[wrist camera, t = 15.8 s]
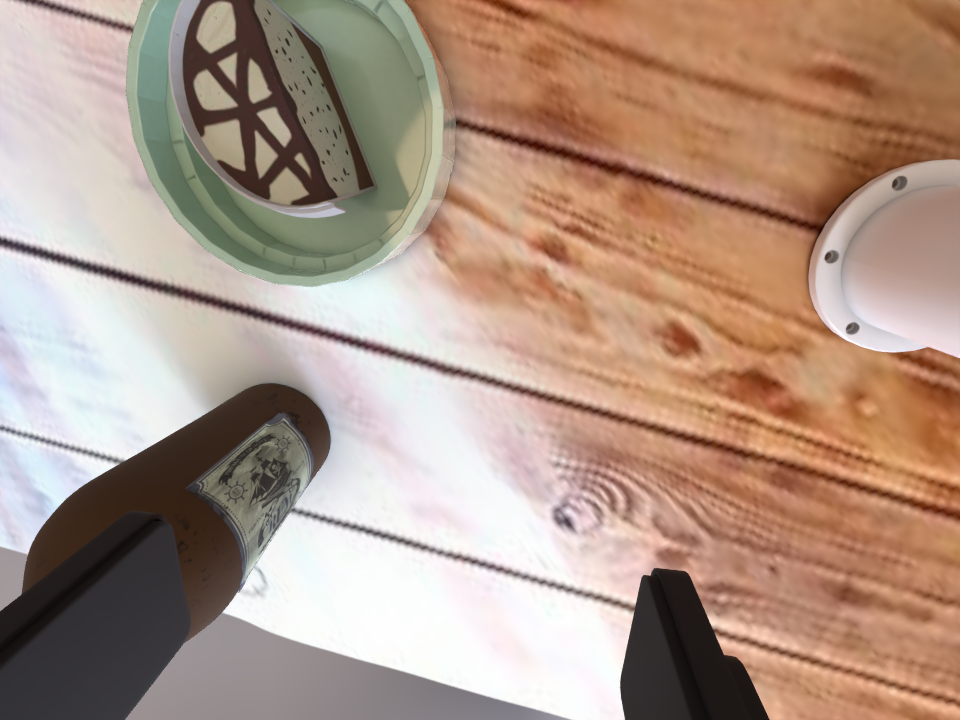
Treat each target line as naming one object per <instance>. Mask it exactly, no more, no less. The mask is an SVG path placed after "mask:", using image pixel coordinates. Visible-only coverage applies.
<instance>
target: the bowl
mask: <svg viewBox="0 0 960 720" xmlns="http://www.w3.org/2000/svg"><path fill="white" fill-rule="evenodd" d="M274 1H275V2H276V3H277V4H278V5H279V6H280V7H281V8H282V9H283V10H284V11H285V12H287V13H288V14H289V15H290V16H291V17H292V18H293V19H294V20H295V21H296V22H297V23H298V24H299V25H301V26H302V27H303V28H304V29H305V30H306V31H307V32H308V33H309V34H310V35H311V36H312V37H314V38H315V39H316V40H317V41H318V42H319V43H320V44H321V45H322V46H323V49H324V51H325V54H326V56H327V59H328V61H329V64H330V66H331V69H332V72H333V74H334V77H335V79H336V82H337V84H338V87H339V89H340V92H341V95H342V97H343V100H344V102H345V105H346V107H347V110H348V112H349V115H350V117H351V120H352V123H353V125H354V128H355V130H356V133H357V135H358V138H359V140H360V143H361V145H362V148H363V151H364V153H365V156H366V158H367V161H368V163H369V166H370V168H371V171H372V174H373V176H374V179H375V181H376V184H377V186H378V189H375V190H371V191H368V192H365V193H362V194H359V195H356V196H353V197H350V198H347V199H344V200H341V201H338V202H335V205H337V206H339V207H342V208H344V209H346V212H344V213H341V214H338V215H334V216H329V217H321V218H305V217H296V216H291V215H287V214H282V213H280V212H277V211H274V210H272V209H269V208H267V207H264V206H262V205H259V204H257V203H254V202H252V201H251V200H249V199H247V198H245V197H244V196H242V195H240V194H239V193H237V192H236V191H235V190H233V189H232V188H231V187H230V186H228V185H227V184H226V183H225V182H223V181H222V180H221V178H219V176H218V175H217V174H216V173H215V172H214V171H213V170H212V169H211V168H210V167H209V166H208V165H207V164H206V163H205V162H204V160H203V159H202V157H201V156H200V155H199V153H198V152H197V151H196V149H195V148H194V146H193V145H192V143H191V141H190V139H189V138H188V136H187V134H186V132H185V130H184V128H183V125H182V123H181V121H180V118H179V116H178V113H177V110H176V107H175V103H174V100H173V96H172V92H171V85H170V78H169V66H168V50H169V42H170V34H171V29H172V25H173V21H174V18H175V14H176V11H177V9H178V7H179V4H180V2H181V0H143V2H142V4H141V7H140V11H139V14H138V17H137V20H136V24H135V27H134V30H133V33H132V36H131V40H130V43H129V47H128V62H127V80H126V93H127V94H126V96H127V102H128V108H129V114H130V120H131V126H132V132H133V138H134V139H135V140H134V142H135V144H136V147H137V149H138V152H139V154H140V157H141V159H142V162H143V164H144V167H145V169H146V172H147V174H148V177H149V179H150V182H152V185H153V187H154V188H155V190H156V191H157V193H158V194H159V196H160V197H161V199H162V200H163V202H164V203H165V205H166V206H167V208H168V209H169V211H170V212H171V214H172V215H173V217H174V219H176V221H177V222H178V223H179V224H180V225H181V226H182V227H183V228H184V229H185V230H186V231H187V232H188V233H189V234H190V235H191V236H192V237H193V238H194V239H195V240H196V241H197V242H198V243H199V244H200V245H201V246H202V247H203V248H204V249H206V250H207V251H208V252H210V253H211V254H213V255H214V256H216V257H218V258H219V259H221V260H222V261H224V262H226V263H227V264H229V265H230V266H232V267H233V268H235V269H237V270H238V271H240V272H242V273H245V274H248V275H251V276H254V277H257V278H260V279H263V280H266V281H269V282H272V283H275V284H282V285H295V286H309V287H313V286H320V285H325V284H330V283H335V282H340V281H345V280H349V279H352V278H354V277H356V276H358V275H360V274H363V273H365V272H367V271H369V270H372V269H374V268H375V267H377V266H379V265H381V264H383V263H385V262H387V261H389V260H391V259H392V258H394V257H396V256H398V255H400V254H401V253H402V252H403V251H405V250H406V249H407V248H408V247H409V246H410V245H411V244H412V243H413V242H414V241H415V240H416V239H417V238H418V237H419V236H420V235H421V234H422V233H423V232H424V231H425V230H426V229H427V227H428V225H429V223H430V222H431V220H432V218H433V217H434V215H435V213H436V211H437V210H438V208H439V206H440V205H441V203H442V201H443V198H444V197H445V193H446V190H447V186H448V183H449V179H450V176H451V172H452V168H453V165H454V160H455V130H456V121H455V120H456V118H455V113H454V109H453V104H452V99H451V94H450V89H449V84H448V79H447V76H446V74H445V72H444V70H443V68H442V65H441V63H440V61H439V59H438V57H437V55H436V53H435V50H434V48H433V46H432V44H431V42H430V40H429V38H428V36H427V34H426V33H425V31H424V30H423V28H422V26H421V25H420V23H419V21H418V20H417V18H416V17H415V15H414V13H413V12H412V10H411V8H410V7H409V6H408V5H407V3H406V2H405V1H404V0H274Z"/></svg>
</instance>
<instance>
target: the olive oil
mask: <svg viewBox="0 0 960 720" xmlns="http://www.w3.org/2000/svg"><path fill="white" fill-rule="evenodd" d="M329 449H330V431H329V427H328V424H327V422H326V420H325V418H324V416H323V414H322V413H321V411H320V410H319V408H318V407H317V406H316V405H315V404H314V403H313V402H312V401H311V400H310V399H309V398H308V397H306V396H305V395H303V394H302V393H300V392H298V391H297V390H295V389H292V388H290V387H287V386H283V385H278V384H260V385H256V386H253V387H250V388H248V389H246V390H244V391H242V392H241V393H239V394H237V395H236V396H234V397H233V398H231V399H229V400H228V401H226V402H224V403H223V404H221V405H220V406H218V407H216V408H215V409H213V410H212V411H210V412H208V413H207V414H205V415H203V416H202V417H200V418H198V419H197V420H195V421H193V422H192V423H190V424H188V425H186V426H185V427H183V428H181V429H180V430H178V431H176V432H174V433H173V434H171V435H169V436H168V437H166V438H164V439H163V440H161V441H159V442H157V443H156V444H154V445H152V446H151V447H149V448H147V449H145V450H144V451H142V452H140V453H138V454H137V455H135V456H133V457H131V458H130V459H128V460H126V461H124V462H123V463H121V464H119V465H117V466H116V467H114V468H112V469H110V470H109V471H107V472H105V473H103V474H102V475H100V476H98V477H96V478H95V479H93V480H91V481H90V482H88V483H87V484H85V485H83V486H82V487H81V488H79V489H78V490H77V491H75V492H74V493H73V494H72V495H70V496H69V497H68V498H67V499H66V500H65V501H64V502H63V503H62V504H61V505H60V506H59V507H58V508H57V509H56V511H55V512H54V513H53V514H52V515H51V516H50V518H49V519H48V520H47V521H46V523H45V524H44V525H43V526H42V528H41V529H40V531H39V532H38V534H37V535H36V537H35V539H34V541H33V543H32V545H31V548H30V551H29V554H28V557H27V561H26V566H25V572H24V580H23V588H22V594H23V593H24V592H26V591H27V590H28V589H29V588H31V587H32V586H33V585H35V584H36V583H37V582H38V581H40V580H41V579H42V578H44V577H45V576H46V575H47V574H49V573H50V572H51V571H52V570H54V569H55V568H56V567H58V566H59V565H60V564H61V563H63V562H64V561H65V560H66V559H68V558H69V557H70V556H72V555H73V554H74V553H75V552H77V551H78V550H79V549H81V548H82V547H83V546H84V545H86V544H87V543H88V542H89V541H91V540H92V539H93V538H95V537H96V536H97V535H98V534H100V533H101V532H102V531H104V530H105V529H106V528H107V527H109V526H110V525H111V524H112V523H114V522H115V521H116V520H118V519H119V518H120V517H121V516H123V515H124V514H126V513H128V512H130V511H142V512H151V513H160V514H163V515H164V516H165V517H166V519H167V521H168V522H169V523H171V524H172V527H173V530H174V536H175V541H176V546H177V551H178V556H179V562H180V567H181V572H182V577H183V582H184V587H185V593H186V598H187V603H188V608H189V613H190V618H191V628H190V632H189V635H188V637H187V639H186V641H188V640H189V639H191V638H192V637H194V636H195V635H196V634H198V633H199V632H200V631H202V629H204V628H205V627H207V626H208V625H209V624H210V623H211V622H212V621H214V620H215V619H216V618H217V617H218V616H219V615H220V614H221V613H222V612H223V611H224V610H225V608H226V607H227V606H228V605H229V603H230V602H231V601H232V599H233V598H234V596H235V595H236V593H237V592H238V590H239V592H240V590H241V589H242V587H243V586H244V584H245V582H246V579H247V577H248V575H249V574H250V572H251V571H252V569H253V568H254V566H255V565H256V563H257V561H258V560H259V558H260V557H261V555H262V554H263V552H264V551H265V549H266V548H267V546H268V545H269V543H270V541H271V540H272V538H273V537H274V535H275V534H276V532H277V531H278V529H279V528H280V526H281V525H282V523H283V522H284V520H285V519H286V517H287V516H288V514H289V513H290V511H291V510H292V508H293V507H294V505H295V504H296V502H297V501H298V499H299V498H300V496H301V495H302V493H303V492H304V490H305V489H306V488H307V486H308V485H309V483H310V482H311V480H312V479H313V478H314V476H315V475H316V473H317V472H318V471H319V469H320V468H321V466H322V465H323V463H324V462H325V460H326V458H327V455H328V453H329ZM239 592H238V593H239ZM186 641H185V642H186ZM185 642H184V643H185Z"/></svg>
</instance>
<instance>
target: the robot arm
mask: <svg viewBox="0 0 960 720" xmlns="http://www.w3.org/2000/svg"><path fill="white" fill-rule="evenodd" d="M892 182H893V184H892ZM826 253H827V256H826V258H825V255H826ZM808 279H809V292H810V296H811V299H812V302H813V305H814V308H815V310H816V312H817V313H818V315H819V317H820V318H821V320H822V321H823V322H824V323H825V324H826V325H827V326H828V327H829V328H830V330H831V331H832V332H834V333H835V334H837V335H839V336H840V337H842V338H843V339H845V340H847V341H849V342H851V343H854V344H856V345H858V346H860V347H864V348H868V349H871V350H875V351H884V352H904V351H914V350H918V349H922V348H926V347H930V348H933V349H936V350H939V351H941V352H944V353H947V354H950V355H952V356H955V357H958V358H960V160H955V159H951V160H932V161H925V162H918V163H911V164H908V165H905V166H902V167H899V168H896V169H893V170H890V171H888V172H886V173H884V174H882V175H880V176H878V177H876V178H874V179H872V180H871V181H869V182H868V183H866V184H865V185H864V186H862V187H861V188H859V189H858V190H857V191H855V192H854V193H853V194H852V195H851V196H850V197H849V198H848V199H846V200H845V201H844V202H843V203H842V204H841V205H840V206H839V207H838V208H837V210H836V211H835V212H834V214H833V215H832V216H831V218H830V219H829V220H828V221H827V223H826V224H825V226H824V228H823V230H822V232H821V234H820V235H819V237H818V239H817V241H816V244H815V247H814V250H813V253H812V256H811V259H810V267H809V275H808ZM190 628H191V618H190V613H189V608H188V603H187V598H186V593H185V587H184V582H183V577H182V572H181V567H180V562H179V556H178V551H177V546H176V541H175V536H174V530H173V527H172V524H171V523H169V522H168V521H167V519H166V517H165V516H164V515H163V514H160V513H151V512H142V511H130V512H128V513H126V514H124V515H123V516H121V517H120V518H119V519H118V520H116V521H115V522H114V523H112V524H111V525H110V526H109V527H107V528H106V529H105V530H104V531H102V532H101V533H100V534H98V535H97V536H96V537H95V538H93V539H92V540H91V541H89V542H88V543H87V544H86V545H84V546H83V547H82V548H81V549H79V550H78V551H77V552H75V553H74V554H73V555H72V556H70V557H69V558H68V559H66V560H65V561H64V562H63V563H61V564H60V565H59V566H58V567H56V568H55V569H54V570H52V571H51V572H50V573H49V574H47V575H46V576H45V577H44V578H42V579H41V580H40V581H38V582H37V583H36V584H35V585H33V586H32V587H31V588H29V589H28V590H27V591H26V592H24V593H23V594H22V595H21V596H19V597H18V598H17V599H15V600H14V601H13V602H12V603H10V604H9V605H8V606H6V607H5V608H4V609H3V610H1V611H0V720H125V719H126V718H127V716H128V715H129V714H130V713H131V711H132V710H133V708H134V707H135V706H136V705H137V703H138V702H139V701H140V700H141V698H142V697H143V696H144V694H145V693H146V692H147V690H148V689H149V688H150V687H151V685H152V684H153V683H154V681H155V680H156V679H157V678H158V676H159V675H160V674H161V672H162V671H163V670H164V668H165V667H166V666H167V665H168V663H169V662H170V661H171V659H172V658H173V657H174V655H175V654H176V653H177V652H178V650H179V649H180V648H181V646H182V645H183V644H184V642H185V641H186V639H187V637H188V635H189V632H190ZM620 690H621V700H622V705H623V710H624V716H625V720H769V718H768V715H767V713H766V711H765V709H764V707H763V705H762V703H761V700H760V698H759V696H758V694H757V692H756V690H755V687H754V685H753V683H752V681H751V679H750V677H749V675H748V673H747V671H746V669H745V667H744V666H743V664H742V663H741V662H740V661H739V660H738V659H737V657H733V656H728V655H724V654H723V652H722V650H721V647H720V645H719V643H718V640H717V638H716V636H715V633H714V631H713V629H712V626H711V624H710V622H709V619H708V617H707V615H706V613H705V610H704V608H703V606H702V603H701V601H700V599H699V596H698V594H697V592H696V589H695V587H694V585H693V582H692V580H691V578H690V576H689V574H688V573H687V572H686V571H678V570H669V569H660V568H654V569H653V571H652V573H651V576H648V575H643V577H642V579H641V583H640V588H639V592H638V597H637V602H636V607H635V612H634V616H633V621H632V626H631V631H630V635H629V640H628V645H627V650H626V654H625V659H624V664H623V669H622V674H621V681H620Z"/></svg>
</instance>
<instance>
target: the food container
mask: <svg viewBox="0 0 960 720" xmlns="http://www.w3.org/2000/svg"><path fill="white" fill-rule="evenodd" d="M168 66H169V78H170V85H171V92H172V96H173V100H174V103H175V107H176V110H177V113H178V116H179V118H180V121H181V123H182V125H183V128H184V130H185V132H186V134H187V136H188V138H189V139H190V141H191V143H192V145H193V146H194V148H195V149H196V151H197V152H198V153H199V155H200V156H201V157H202V159H203V160H204V162H205V163H206V164H207V165H208V166H209V167H210V168H211V169H212V170H213V171H214V172H215V173H216V174H217V175H218V176H219V178H221V180H222V181H223V182H225V183H226V184H227V185H228V186H230V187H231V188H232V189H233V190H235V191H236V192H237V193H239V194H240V195H242V196H244V197H245V198H247V199H249V200H251V201H252V202H254V203H257V204H259V205H262V206H264V207H267V208H269V209H272V210H274V211H277V212H280V213H282V214H287V215H291V216H296V217H305V218H321V217H329V216H334V215H338V214H341V213H344V212H346V209H344V208H342V207H339V206H337V205H335V202H338V201H341V200H344V199H347V198H350V197H353V196H356V195H359V194H362V193H365V192H368V191H371V190H375V189H378V186H377V184H376V181H375V179H374V176H373V174H372V171H371V168H370V166H369V163H368V161H367V158H366V156H365V153H364V151H363V148H362V145H361V143H360V140H359V138H358V135H357V133H356V130H355V128H354V125H353V123H352V120H351V117H350V115H349V112H348V110H347V107H346V105H345V102H344V100H343V97H342V95H341V92H340V89H339V87H338V84H337V82H336V79H335V77H334V74H333V72H332V69H331V66H330V64H329V61H328V59H327V56H326V54H325V51H324V49H323V46H322V45H321V44H320V43H319V42H318V41H317V40H316V39H315V38H314V37H312V36H311V35H310V34H309V33H308V32H307V31H306V30H305V29H304V28H303V27H302V26H301V25H299V24H298V23H297V22H296V21H295V20H294V19H293V18H292V17H291V16H290V15H289V14H288V13H287V12H285V11H284V10H283V9H282V8H281V7H280V6H279V5H278V4H277V3H276V2H275V1H274V0H181V2H180V4H179V7H178V9H177V11H176V14H175V18H174V21H173V25H172V29H171V34H170V42H169V50H168Z"/></svg>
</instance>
